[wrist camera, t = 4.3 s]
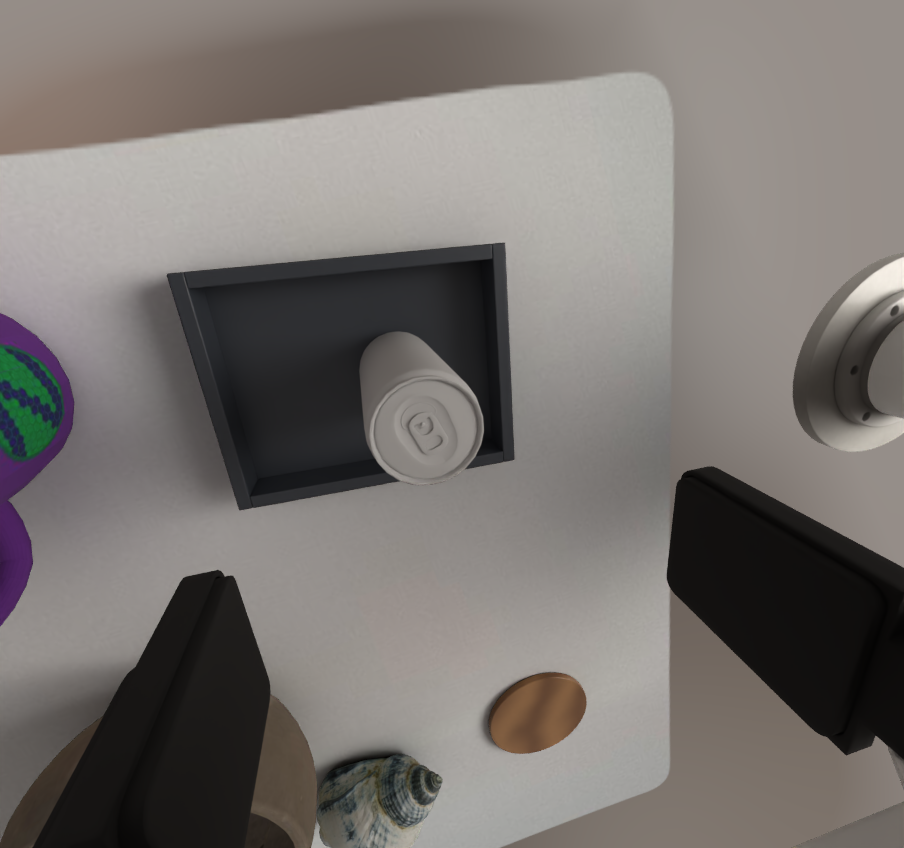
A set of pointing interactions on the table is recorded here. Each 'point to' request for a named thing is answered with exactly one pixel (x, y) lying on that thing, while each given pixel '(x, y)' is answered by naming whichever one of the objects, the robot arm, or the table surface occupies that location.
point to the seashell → (376, 803)
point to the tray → (337, 358)
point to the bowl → (274, 801)
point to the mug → (26, 441)
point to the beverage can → (417, 411)
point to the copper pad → (537, 713)
